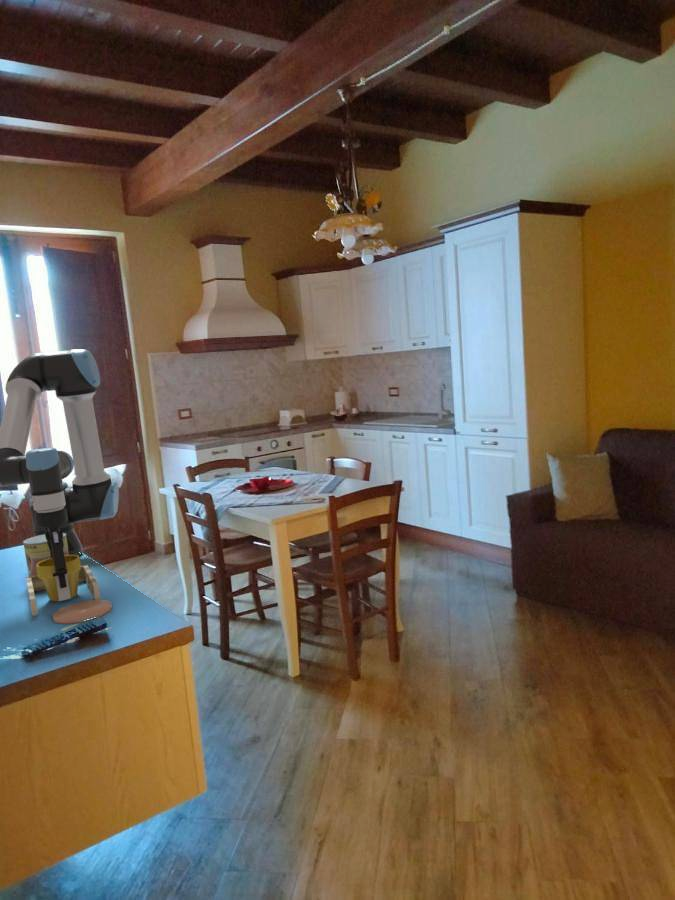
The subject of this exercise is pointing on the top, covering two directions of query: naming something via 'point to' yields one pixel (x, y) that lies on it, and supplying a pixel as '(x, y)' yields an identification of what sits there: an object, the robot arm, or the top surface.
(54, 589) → the plant pot
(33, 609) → the slot cradle
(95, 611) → the disc
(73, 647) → the top surface
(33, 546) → the canned food
